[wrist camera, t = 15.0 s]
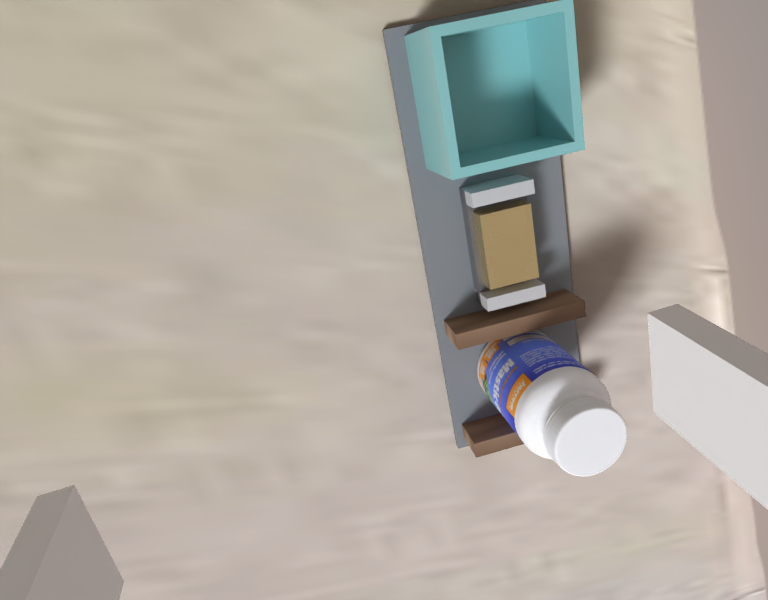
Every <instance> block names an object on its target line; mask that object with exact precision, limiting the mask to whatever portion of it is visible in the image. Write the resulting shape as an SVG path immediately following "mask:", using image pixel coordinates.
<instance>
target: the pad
mask: <svg viewBox="0 0 768 600" xmlns="http://www.w3.org/2000/svg"><path fill="white" fill-rule="evenodd" d="M473 217H474V224H475V231H476V238H477V245H478V251H479V258H480V265H481V272H482V279H483V284H484V285H485V286H486V287H488V288H489V289H490V290H492V289H495V288H499V287H503V286H507V285H511V284H515V283H519V282H523V281H527V280H531V279H535V278H539V271H538V263H537V254H536V245H535V236H534V227H533V218H532V209H531V203H528V202H526V201H523V200H520V201H516V202H512V203H508V204H504V205H499V206H495V207H491V208H487V209H483V210H479V211H474V212H473Z"/></svg>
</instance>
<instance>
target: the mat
mask: <svg viewBox="0 0 768 600" xmlns="http://www.w3.org/2000/svg"><path fill="white" fill-rule="evenodd" d="M544 3H546V0H530V1H525V2H520V3H515V4H510V5H505V6H500V7H495V8H490V9H485V10H480V11H475V12H470V13H465V14H460V15H455V16H450V17H445V18H440V19H435V20H430V21H425V22H420V23H415V24H410V25H405V26H400V27H395V28H390V29H385V30H382V31H383V36H384V42H385V47H386V53H387V59H388V64H389V70H390V75H391V81H392V87H393V92H394V98H395V103H396V109H397V114H398V120H399V126H400V131H401V137H402V142H403V148H404V154H405V159H406V165H407V170H408V176H409V182H410V187H411V193H412V198H413V204H414V209H415V215H416V221H417V226H418V232H419V237H420V243H421V249H422V254H423V260H424V265H425V271H426V277H427V282H428V288H429V293H430V299H431V304H432V310H433V316H434V321H435V327H436V332H437V338H438V344H439V349H440V355H441V360H442V366H443V371H444V377H445V383H446V388H447V394H448V399H449V405H450V411H451V416H452V422H453V427H454V433H455V439H456V444H457V447H458V448H462V447H465V446H469V444H468V443H467V441H466V439H465V438H464V434H463V428H462V424H464V423H467V422H471V421H474V420H478V419H481V418H485V417H488V416H492V415H496V414H499V413H500V412H499V410H498V409H497V408H496V406H495V405H494V404H493V403H492V401H491V400H490V399H489V398H488V396H487V395H486V394H485V392H484V391H483V389H482V387H481V385H480V383H479V380H478V374H477V367H478V361H479V358H480V355H481V353H482V351H483V349H484V348H485V346H486V345H487V344H488V342H487V343H484V344H480V345H476V346H472V347H469V348H465V349H461V350H458V349H457V348H456V346H455V345H454V344H453V343H452V341H451V340H450V339H449V337H448V336H447V335H446V330H445V324H444V320H446V319H450V318H453V317H457V316H461V315H465V314H469V313H473V312H477V311H480V310H484V309H485V308H484V307H483V306H482V305H481V304H480V303H479V302H478V301H476V297H475V290H474V284H473V277H472V271H471V264H470V257H469V251H468V244H467V238H466V231H465V224H464V218H463V211H462V205H461V198H460V191H459V188H461V187H466V186H470V185H474V184H479V183H483V182H487V181H491V180H496V179H500V178H504V177H508V176H513V175H517V174H518V175H522V176H525V177H528V178H531V179H533V180H534V189H535V194H531V195H527V201H528V203H531V209H532V218H533V227H534V236H535V245H536V254H537V263H538V271H539V278H536V279H538V280H539V281H541V282H542V283H544V284H545V290H546V293H550V292H554V291H558V290H561V289H566V290H568V291H570V292H571V293H573V288H572V278H571V267H570V256H569V245H568V235H567V224H566V213H565V202H564V192H563V181H562V170H561V159H560V155H559V156H555V157H550V158H546V159H542V160H537V161H533V162H529V163H524V164H520V165H516V166H511V167H507V168H503V169H499V170H494V171H490V172H486V173H481V174H477V175H473V176H468V177H464V178H460V179H455V180H451V179H448V178H446V177H444V176H442V175H439V174H437V173H435V172H433V171H431V170H428V169H426V164H425V158H424V152H423V146H422V140H421V134H420V128H419V122H418V116H417V110H416V104H415V98H414V92H413V86H412V80H411V74H410V68H409V62H408V57H407V51H406V45H405V39H404V36H406V35H409V34H411V33H414V32H416V31H419V30H422V29H424V28H427V27H430V26H435V25H440V24H445V23H450V22H455V21H460V20H465V19H470V18H475V17H480V16H485V15H490V14H495V13H500V12H505V11H510V10H515V9H519V8H524V7H529V6H534V5H539V4H544ZM536 330H539V331H540V332H542V333H544V334H545V335H547V336H548V337H549V338H551V339H552V340H553V341H554V342H555V343H557V344H558V345H559V346H560V347H561V348H563V349H564V350H565V351H566V352H567V353H569V354H570V355H571V356H572V357H574V358H575V359H576V360H577V361H578V362H579V353H578V342H577V331H576V321H575V319H574V320H570V321H567V322H563V323H559V324H555V325H551V326H548V327H544V328H540V329H536Z"/></svg>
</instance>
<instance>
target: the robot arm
mask: <svg viewBox="0 0 768 600" xmlns="http://www.w3.org/2000/svg"><path fill="white" fill-rule="evenodd" d="M648 329H649V345H650V361H651V377H652V394H653V410H654V413H655V414H656V415H657V416H659V417H660V418H661V419H662V420H663V421H664V422H666V423H667V424H668V425H669V426H670V427H671V428H673V429H674V430H675V431H676V432H677V433H678V434H680V435H681V436H682V437H683V438H684V439H686V440H687V441H688V442H689V443H690V444H691V445H693V446H694V447H695V448H696V449H697V450H698V451H700V452H701V453H702V454H703V455H704V456H705V457H707V458H708V459H709V460H710V461H711V462H712V463H714V464H715V465H716V466H717V467H718V468H719V469H721V470H722V471H723V472H724V473H725V474H727V475H728V476H729V477H730V478H731V479H732V480H734V481H735V482H736V483H737V484H738V485H739V486H741V487H742V488H743V489H744V490H745V491H746V492H748V493H749V494H750V495H751V496H752V497H753V498H755V499H756V500H757V501H758V502H759V503H760V504H762V505H763V506H764V507H765V508H766V509H768V353H766V352H764V351H762V350H760V349H759V348H757V347H755V346H753V345H751V344H750V343H747V342H746V341H744V340H742V339H740V338H738V337H737V336H735V335H733V334H731V333H730V332H728V331H726V330H724V329H722V328H720V327H719V326H717V325H715V324H713V323H711V322H710V321H708V320H706V319H704V318H702V317H701V316H699V315H697V314H695V313H693V312H691V311H690V310H688V309H686V308H684V307H682V306H681V305H679V304H676V305H672V306H669V307H666V308H662V309H659V310H656V311H652V312H649V313H648ZM123 582H124V581H123V579H122V577H121V575H120V573H119V571H118V569H117V567H116V565H115V563H114V561H113V559H112V557H111V555H110V553H109V551H108V549H107V548H106V546H105V544H104V542H103V540H102V538H101V536H100V534H99V532H98V530H97V528H96V526H95V524H94V522H93V520H92V518H91V516H90V514H89V512H88V511H87V509H86V507H85V505H84V503H83V501H82V499H81V497H80V495H79V493H78V491H77V489H76V487H75V485H73V486H70V487H66V488H63V489H60V490H56V491H53V492H50V493H46V494H43V495H40V496H37V498H36V500H35V502H34V504H33V506H32V508H31V510H30V512H29V514H28V516H27V518H26V520H25V522H24V524H23V526H22V528H21V530H20V532H19V534H18V536H17V538H16V540H15V542H14V544H13V546H12V548H11V550H10V552H9V554H8V556H7V558H6V560H5V562H4V564H3V566H2V568H1V570H0V600H119V598H120V594H121V590H122V586H123Z"/></svg>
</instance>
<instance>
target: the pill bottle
mask: <svg viewBox="0 0 768 600" xmlns="http://www.w3.org/2000/svg"><path fill="white" fill-rule="evenodd" d="M477 374H478V380H479V383H480V385H481V387H482V389H483V391H484V392H485V394H486V395H487V396H488V398H489V399H490V400H491V401H492V403H493V404H494V405H495V406H496V408H497V409H498V410H499V412H500V413H501V414H502V415H503V417H504V418H505V419H506V421H507V422H508V423H509V424H510V426H511V427H512V428H513V430H514V431H515V432H516V434H517V435H518V436H519V438H520V439H521V440H522V441H523V443H524V444H525V445H526V446H527V447H528V448H529V449H530V450H531V451H532V452H534V453H535V454H537V455H539V456H541V457H544V458H547V459H553V460H554V461H555V462H556V463H557V464H558V465H559V466H560V467H561V468H562V469H563V470H564V471H566V472H567V473H569V474H572V475H575V476H591V475H595V474H598V473H600V472H602V471H604V470H606V469H607V468H609V467H610V466H611V465H612V464H613V463H614V462H615V461H616V460H617V459H618V458H619V456H620V455H621V453H622V451H623V449H624V447H625V444H626V440H627V428H626V424H625V422H624V420H623V418H622V417H621V416H620V414H619V413H618V412H617V411H616V410H615V409H614V408H613V407H612V406H611V399H610V395H609V393H608V391H607V389H606V387H605V386H604V384H603V383H602V382H601V381H600V380H599V379H598V378H597V377H596V376H595V375H594V374H593V373H592V372H590V371H589V370H588V369H587V368H586V367H584V366H583V365H582V364H581V363H580V362H578V361H577V360H576V359H575V358H574V357H572V356H571V355H570V354H569V353H567V352H566V351H565V350H564V349H563V348H561V347H560V346H559V345H558V344H557V343H555V342H554V341H553V340H552V339H551V338H549V337H548V336H547V335H545V334H544V333H542V332H540V331H539V330H533V331H529V332H525V333H521V334H518V335H514V336H510V337H506V338H503V339H499V340H495V341H491V342H488V344H487V345H486V346H485V348H484V349H483V351H482V353H481V355H480V358H479V361H478V367H477Z"/></svg>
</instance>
